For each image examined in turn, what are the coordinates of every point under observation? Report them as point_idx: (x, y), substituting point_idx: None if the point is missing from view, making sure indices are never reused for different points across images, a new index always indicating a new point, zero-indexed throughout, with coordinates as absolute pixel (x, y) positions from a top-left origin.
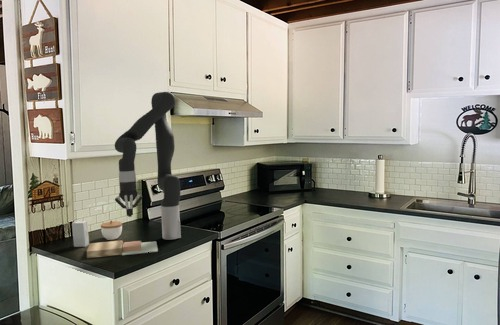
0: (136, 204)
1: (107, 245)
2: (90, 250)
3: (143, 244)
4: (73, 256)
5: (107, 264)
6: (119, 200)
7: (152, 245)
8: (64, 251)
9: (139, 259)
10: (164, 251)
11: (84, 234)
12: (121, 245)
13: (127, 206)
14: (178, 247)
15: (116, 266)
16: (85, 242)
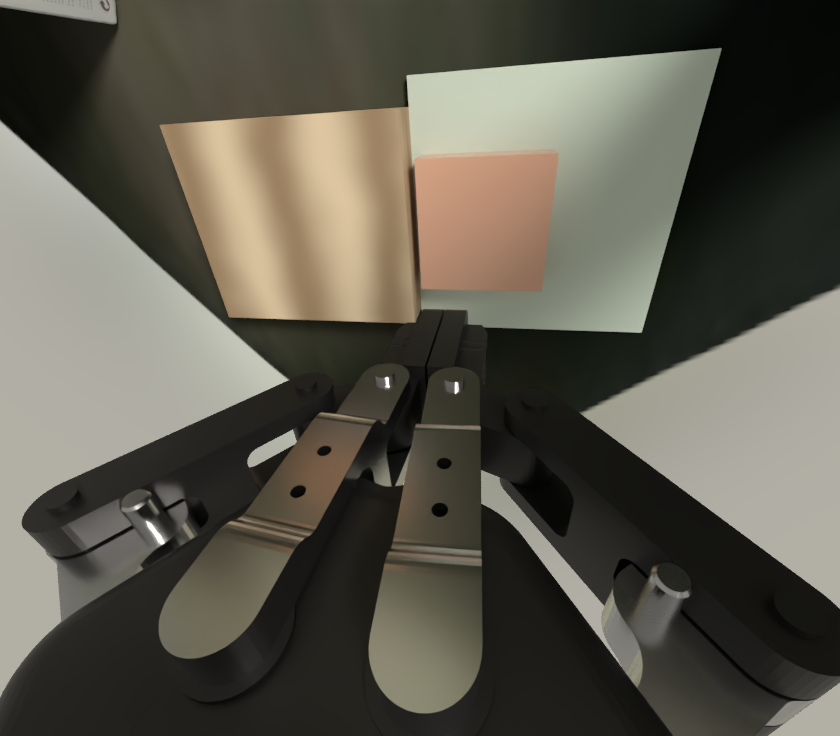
0: (556, 508)
1: (310, 232)
2: (242, 304)
3: (576, 136)
4: (163, 245)
5: None
6: (189, 535)
7: (641, 195)
8: (42, 111)
9: None
10: (681, 340)
11: (13, 5)
12: (407, 267)
13: (390, 467)
14: (818, 292)
15: None
16: (87, 12)
